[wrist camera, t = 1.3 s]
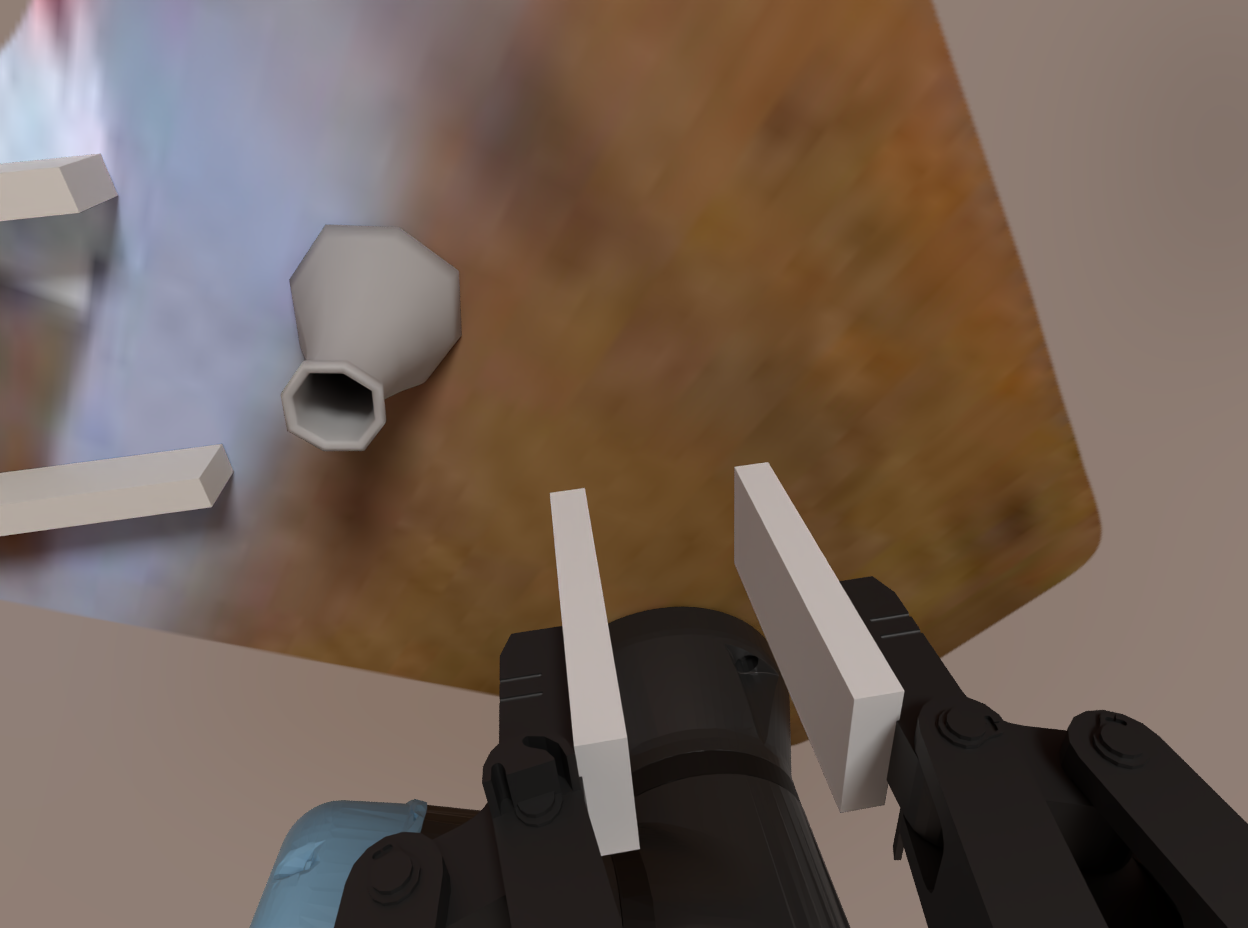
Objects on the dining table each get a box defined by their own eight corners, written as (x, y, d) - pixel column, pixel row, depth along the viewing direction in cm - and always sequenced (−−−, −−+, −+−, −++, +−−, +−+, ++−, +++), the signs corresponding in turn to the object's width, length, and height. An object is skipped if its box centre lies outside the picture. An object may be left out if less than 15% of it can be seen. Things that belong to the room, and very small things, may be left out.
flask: (486, 256, 31) (479, 343, 23) (440, 402, 34) (418, 526, 26) (307, 192, 29) (227, 263, 21) (275, 354, 32) (193, 473, 24)
